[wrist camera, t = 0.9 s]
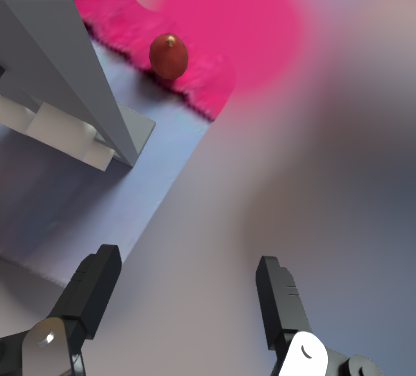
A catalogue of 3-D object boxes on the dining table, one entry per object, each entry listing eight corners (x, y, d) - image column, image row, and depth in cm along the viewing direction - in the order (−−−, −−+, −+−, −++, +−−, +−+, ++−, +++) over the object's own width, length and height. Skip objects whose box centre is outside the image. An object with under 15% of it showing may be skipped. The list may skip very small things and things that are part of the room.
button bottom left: (34, 139, 25) (11, 128, 21) (-3, 122, 24) (-33, 107, 20) (51, 110, 25) (32, 95, 21) (16, 93, 24) (-10, 73, 21)
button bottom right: (107, 173, 26) (99, 169, 23) (76, 158, 26) (62, 151, 22) (122, 145, 27) (117, 137, 23) (92, 130, 26) (81, 119, 22)
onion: (152, 50, 35) (151, 8, 27) (186, 60, 36) (195, 23, 28) (147, 83, 34) (144, 50, 26) (182, 92, 35) (189, 63, 28)
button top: (88, 163, 19) (70, 154, 15) (42, 142, 18) (10, 127, 14) (109, 125, 19) (97, 107, 15) (65, 103, 19) (41, 78, 15)
